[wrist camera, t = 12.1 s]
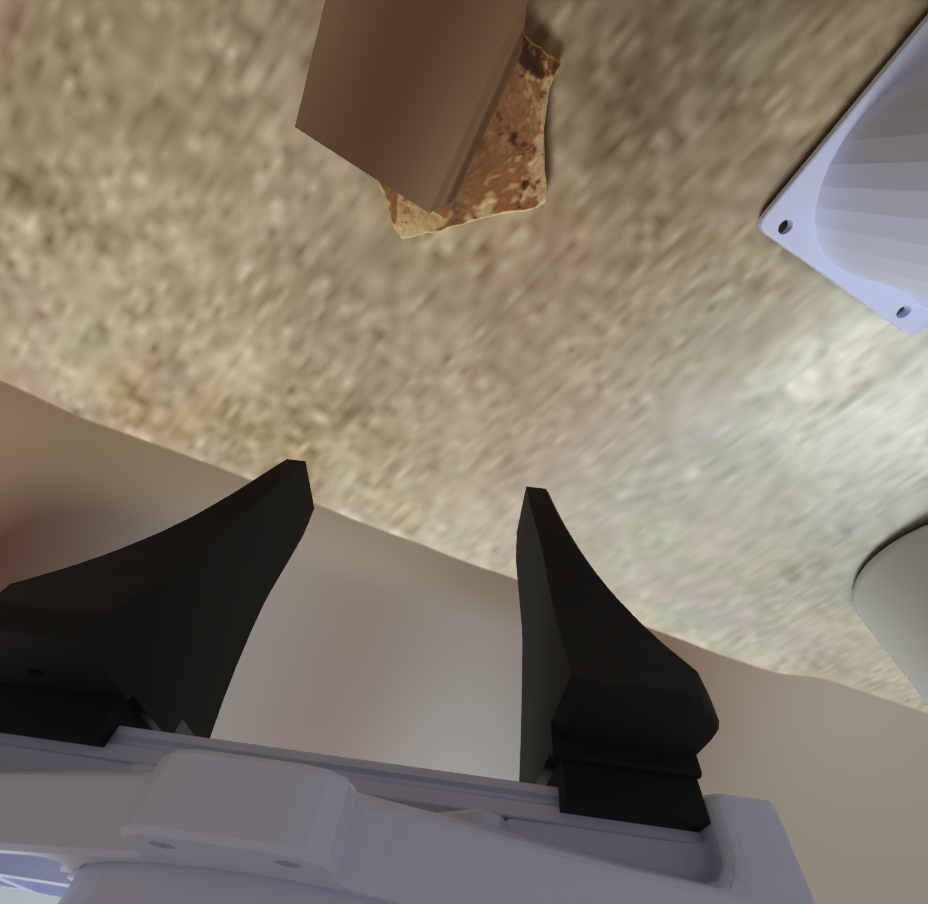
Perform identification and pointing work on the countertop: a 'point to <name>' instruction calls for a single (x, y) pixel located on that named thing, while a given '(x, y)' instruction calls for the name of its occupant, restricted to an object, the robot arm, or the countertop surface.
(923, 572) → the cylinder vase
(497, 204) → the shard
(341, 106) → the walnut block
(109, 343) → the countertop surface
